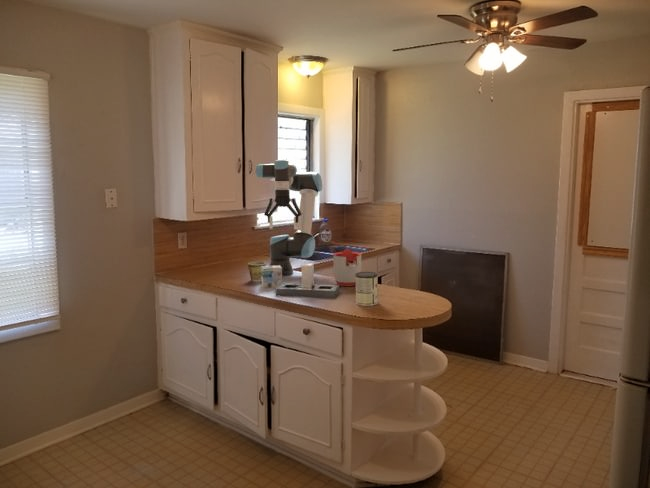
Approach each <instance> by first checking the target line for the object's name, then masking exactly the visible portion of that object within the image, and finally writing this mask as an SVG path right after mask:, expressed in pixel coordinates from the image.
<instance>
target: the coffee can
mask: <svg viewBox="0 0 650 488" xmlns="http://www.w3.org/2000/svg"><path fill="white" fill-rule="evenodd" d="M378 275H379V274H378V273H377V272H374V271H361V272H358V273H356V274H355V276H356V286H355V304H356V305H357V306H363V307H364V306H365V307H368V306H369V307H370V306H371V307H373V306H376V305H377V304H378Z"/></svg>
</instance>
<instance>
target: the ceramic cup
mask: <svg viewBox="0 0 650 488" xmlns="http://www.w3.org/2000/svg"><path fill="white" fill-rule="evenodd" d="M261 266H266V262H264V261H252V262H248V263H247V268H248V272H249V277H250V281H251V282H253V283H257V282H260V283H261Z"/></svg>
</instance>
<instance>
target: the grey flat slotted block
mask: <svg viewBox="0 0 650 488" xmlns="http://www.w3.org/2000/svg"><path fill="white" fill-rule="evenodd" d="M340 292H341V286H340V285H337V284H317V283H314V288H313V289H310V288H302V283H290V282H289V283H286V282H282V285H280V286H279V287H275V296H277V297H279V296H280V297H281V296H282V297H302V298H305V297H307V298H328V299H335V298H336V297H337V296H338V295H339V294H340Z"/></svg>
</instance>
